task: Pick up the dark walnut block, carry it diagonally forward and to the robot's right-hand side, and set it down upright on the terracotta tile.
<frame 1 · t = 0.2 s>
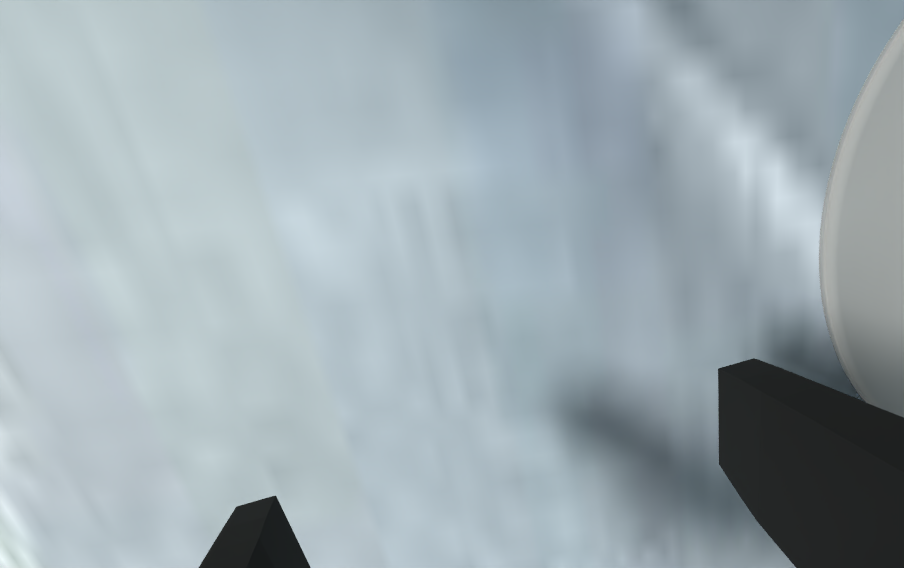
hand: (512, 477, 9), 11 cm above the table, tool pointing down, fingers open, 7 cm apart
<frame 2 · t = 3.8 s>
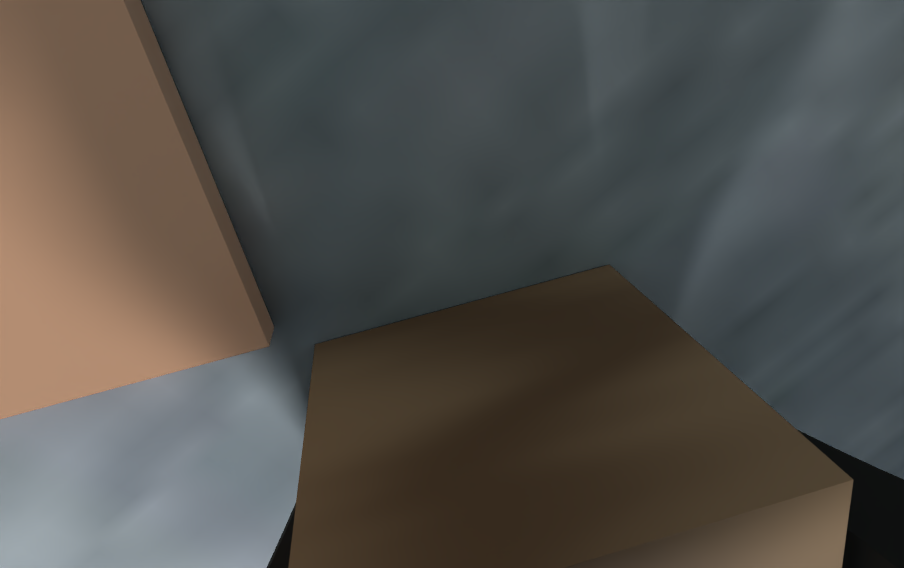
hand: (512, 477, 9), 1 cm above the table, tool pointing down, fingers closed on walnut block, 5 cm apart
walnut block: (492, 422, 10), on the table, touching gripper
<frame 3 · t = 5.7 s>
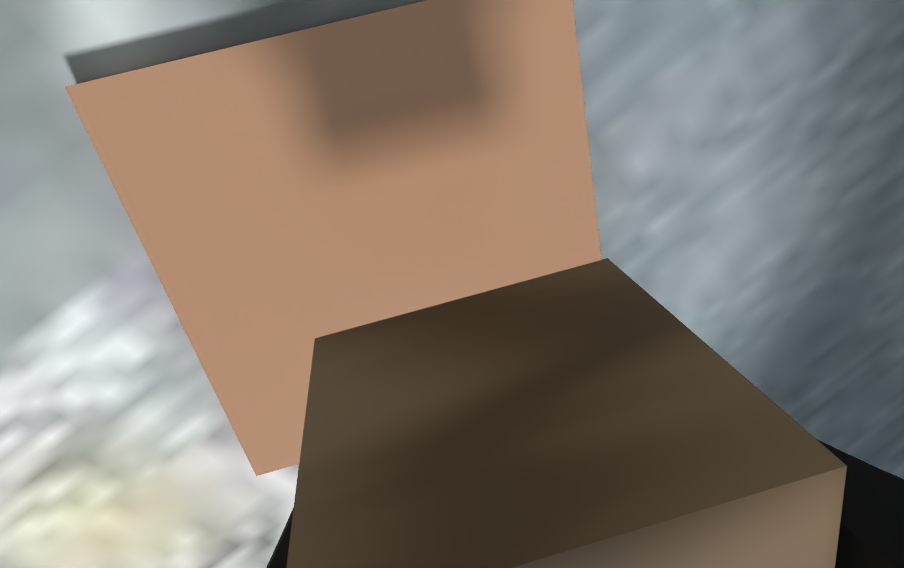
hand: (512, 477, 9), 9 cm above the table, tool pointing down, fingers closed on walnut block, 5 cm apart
walnut block: (491, 415, 10), point 7 cm above the table, touching gripper
terracotta tile: (389, 249, 16), on the table
when the fingers open (3 cm above the table, at t = 7.7 s): walnut block drops 1 cm, resting on terracotta tile.
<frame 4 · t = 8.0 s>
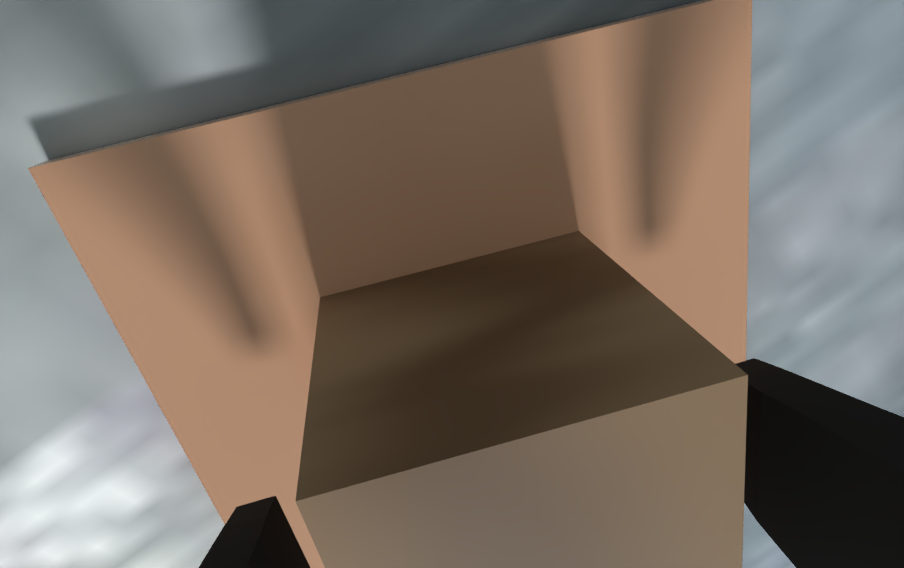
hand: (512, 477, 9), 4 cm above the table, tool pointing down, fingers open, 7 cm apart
walnut block: (475, 372, 11), point 1 cm above the table, touching terracotta tile
terracotta tile: (470, 362, 12), on the table
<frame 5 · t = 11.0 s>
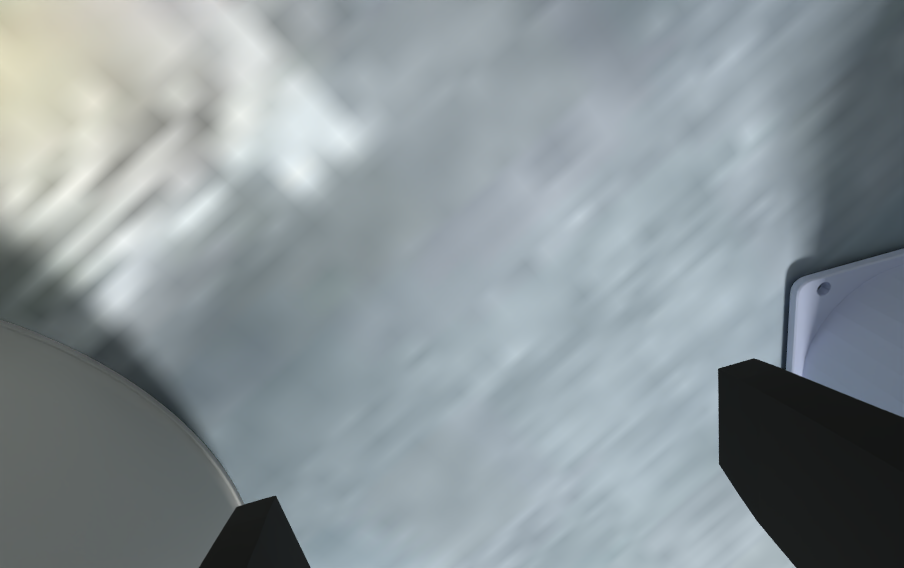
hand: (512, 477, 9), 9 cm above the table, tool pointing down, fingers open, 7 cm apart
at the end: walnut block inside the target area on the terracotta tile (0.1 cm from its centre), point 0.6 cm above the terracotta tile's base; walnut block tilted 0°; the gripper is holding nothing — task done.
